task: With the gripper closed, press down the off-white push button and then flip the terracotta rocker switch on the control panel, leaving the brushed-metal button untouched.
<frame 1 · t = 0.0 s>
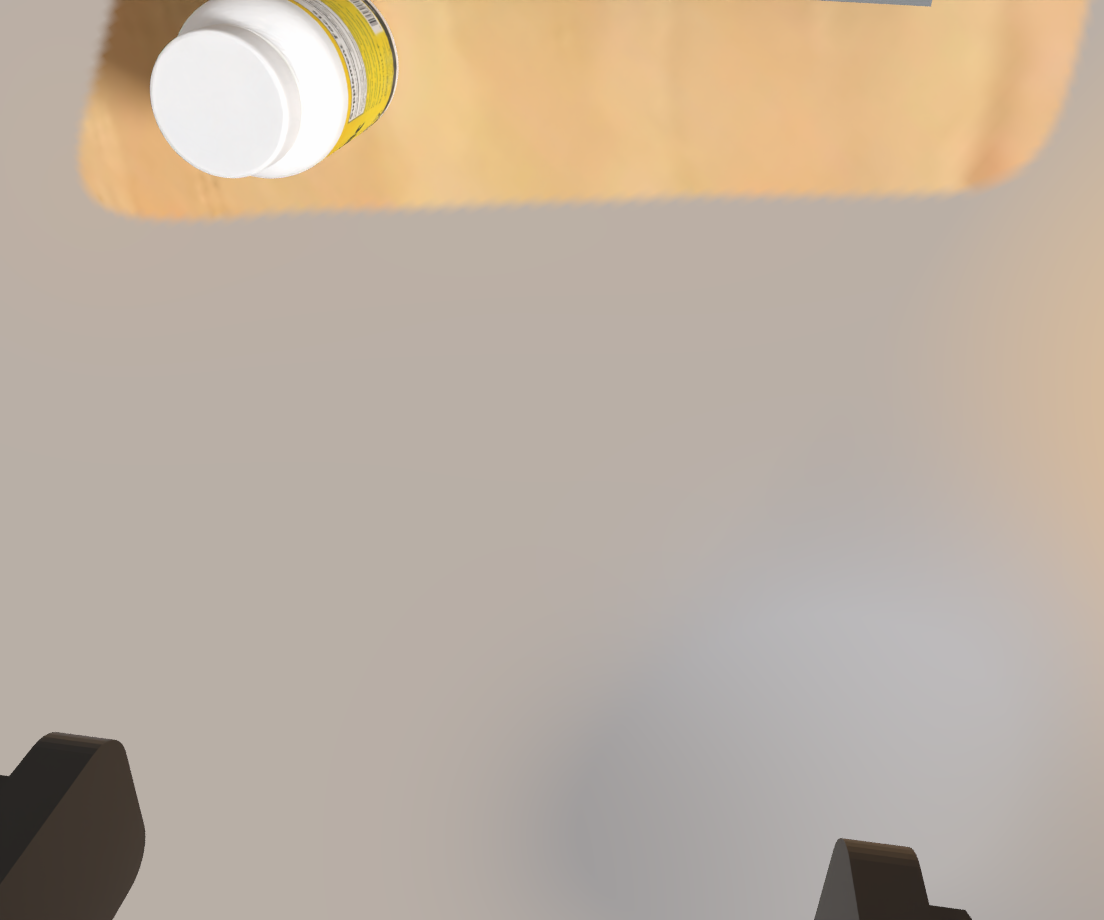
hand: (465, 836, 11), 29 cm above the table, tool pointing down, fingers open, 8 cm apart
supplement bottle: (332, 58, 35), on the table
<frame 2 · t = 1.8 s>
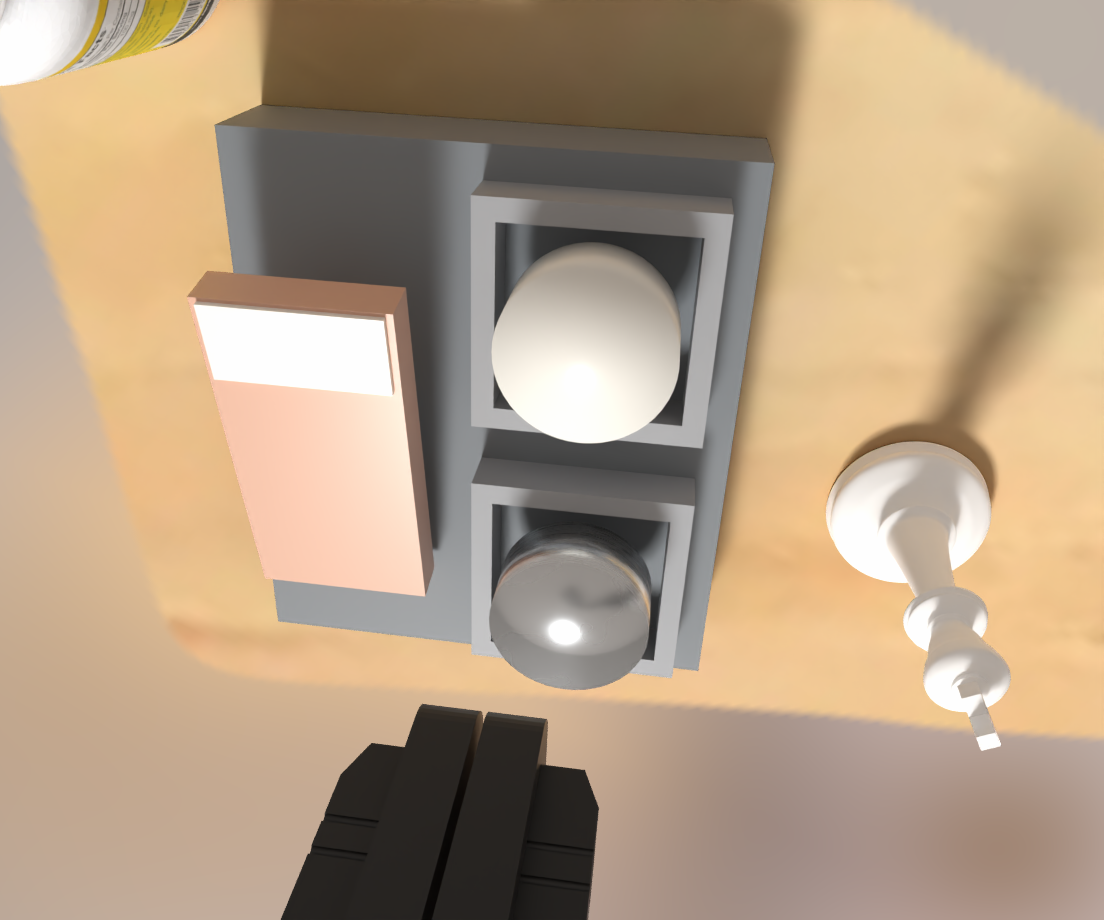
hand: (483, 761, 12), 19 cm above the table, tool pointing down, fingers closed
chess piece: (904, 505, 31), on the table
panel: (503, 386, 30), on the table
metal button: (572, 606, 27), point 5 cm above the table, slide at 0.0 cm
white button: (588, 343, 23), point 5 cm above the table, slide at 0.0 cm
rocker: (326, 451, 26), point 5 cm above the table, hinge at -12.0°
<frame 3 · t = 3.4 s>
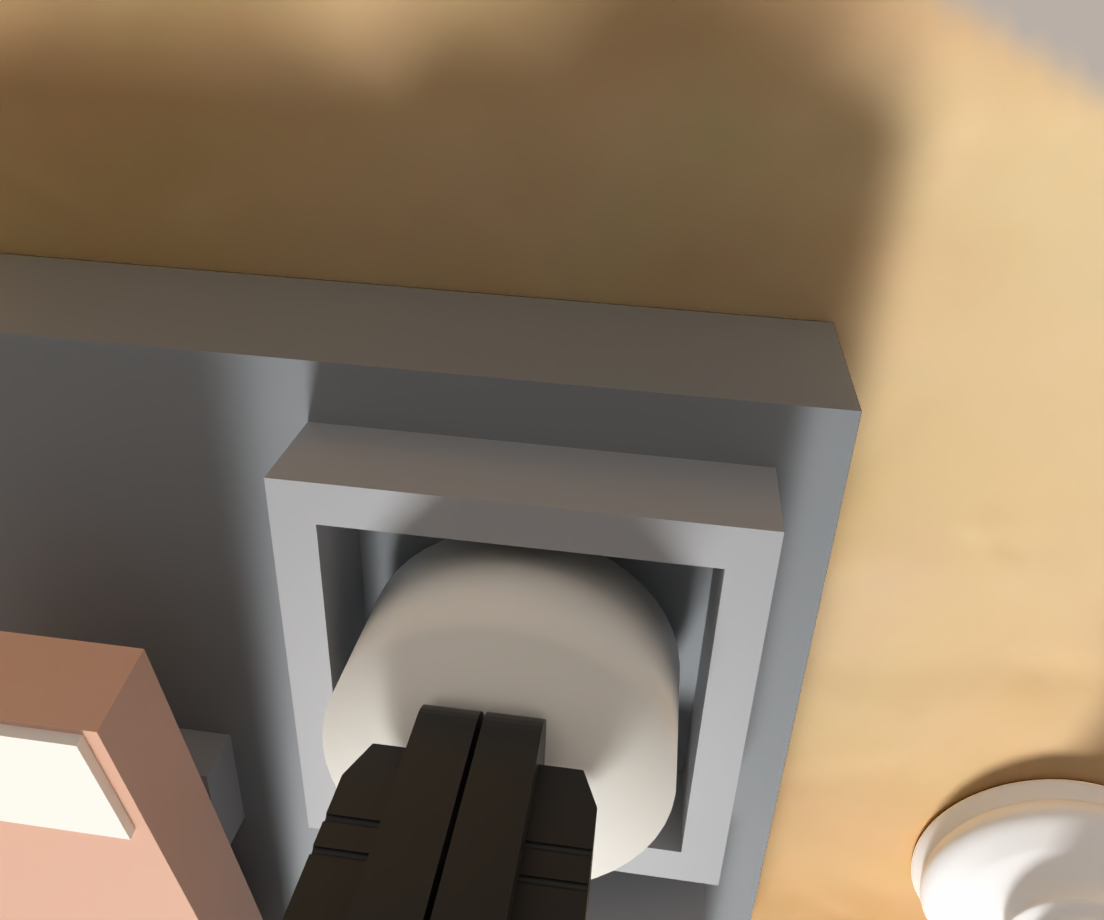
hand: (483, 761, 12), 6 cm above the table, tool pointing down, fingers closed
chess piece: (1037, 857, 19), on the table
panel: (398, 673, 19), on the table
white button: (510, 711, 13), point 5 cm above the table, slide at 0.8 cm, touching gripper
rocker: (59, 863, 15), point 5 cm above the table, hinge at -12.0°
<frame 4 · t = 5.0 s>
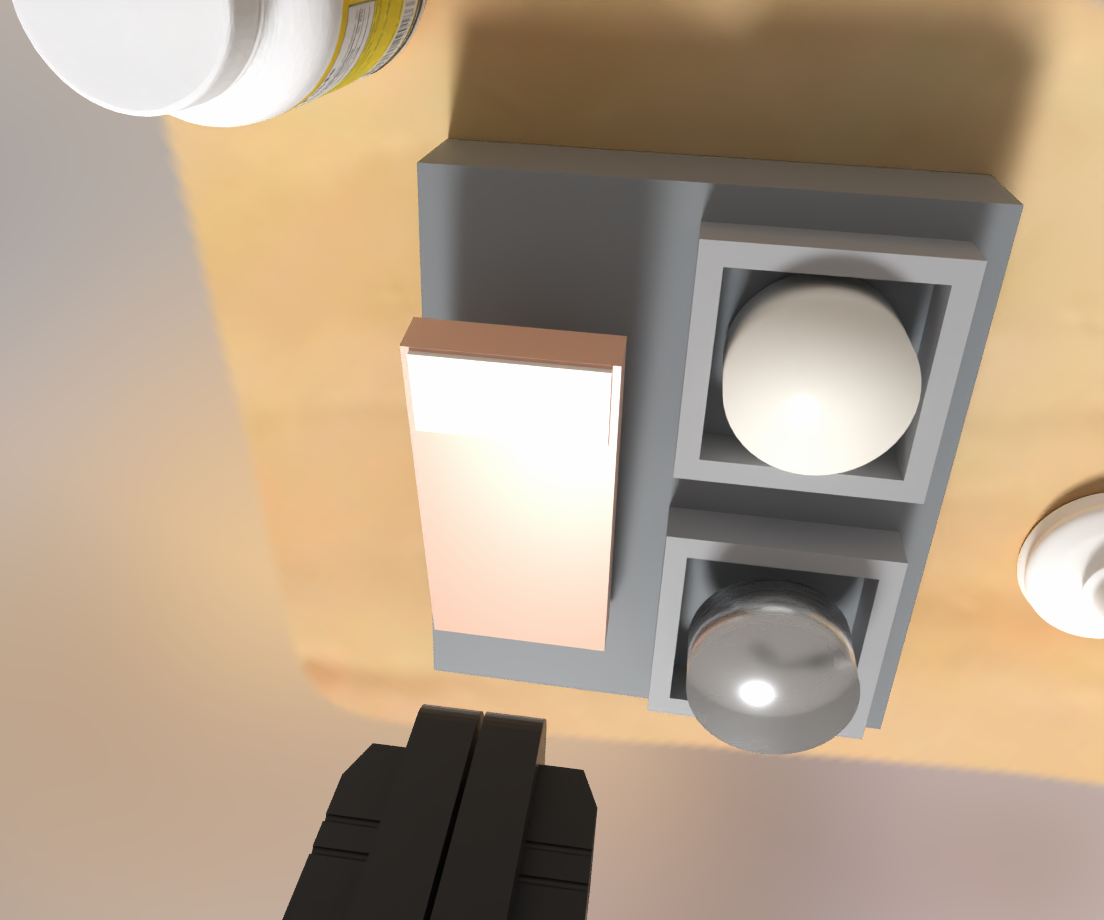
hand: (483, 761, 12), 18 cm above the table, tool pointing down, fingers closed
chess piece: (1102, 557, 29), on the table
panel: (680, 429, 29), on the table
metal button: (770, 666, 26), point 5 cm above the table, slide at 0.0 cm
white button: (816, 374, 23), point 4 cm above the table, slide at 1.2 cm
rocker: (518, 503, 25), point 5 cm above the table, hinge at -12.0°
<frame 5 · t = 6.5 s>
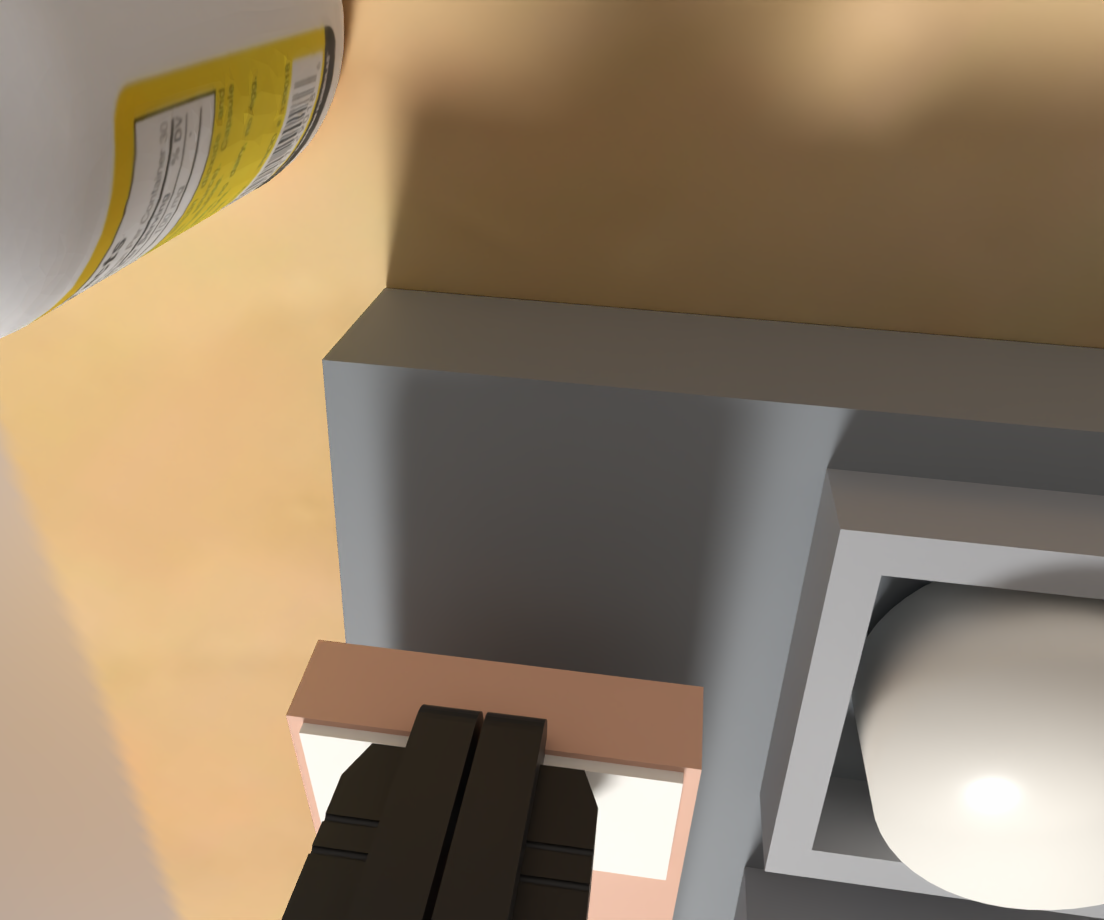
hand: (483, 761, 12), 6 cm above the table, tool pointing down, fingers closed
panel: (750, 707, 19), on the table
white button: (1030, 736, 13), point 4 cm above the table, slide at 1.2 cm
rocker: (503, 906, 15), point 5 cm above the table, hinge at -9.4°, touching gripper
supplement bottle: (180, 7, 14), on the table
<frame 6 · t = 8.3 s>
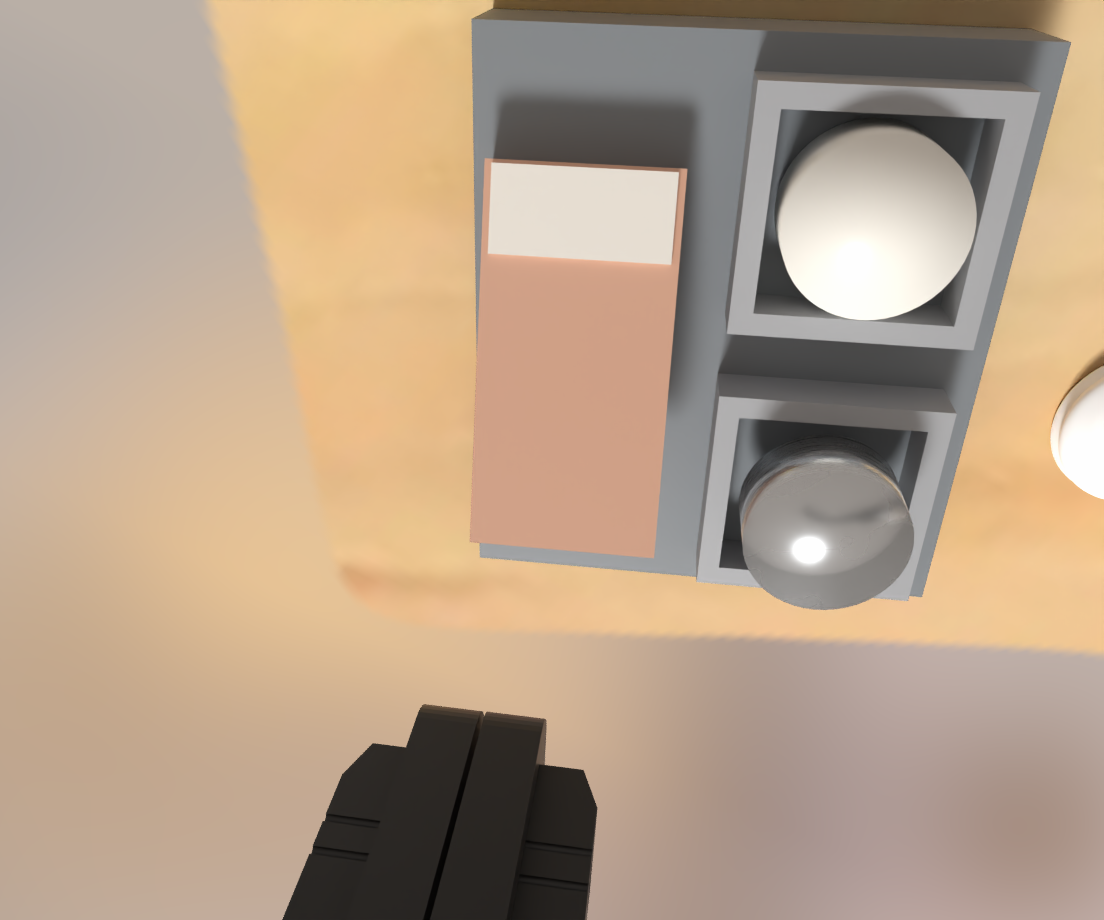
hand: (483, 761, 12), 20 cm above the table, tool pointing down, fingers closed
panel: (721, 305, 29), on the table
metal button: (822, 522, 26), point 5 cm above the table, slide at 0.0 cm
white button: (869, 219, 23), point 4 cm above the table, slide at 1.2 cm
rocker: (574, 363, 25), point 5 cm above the table, hinge at 16.3°
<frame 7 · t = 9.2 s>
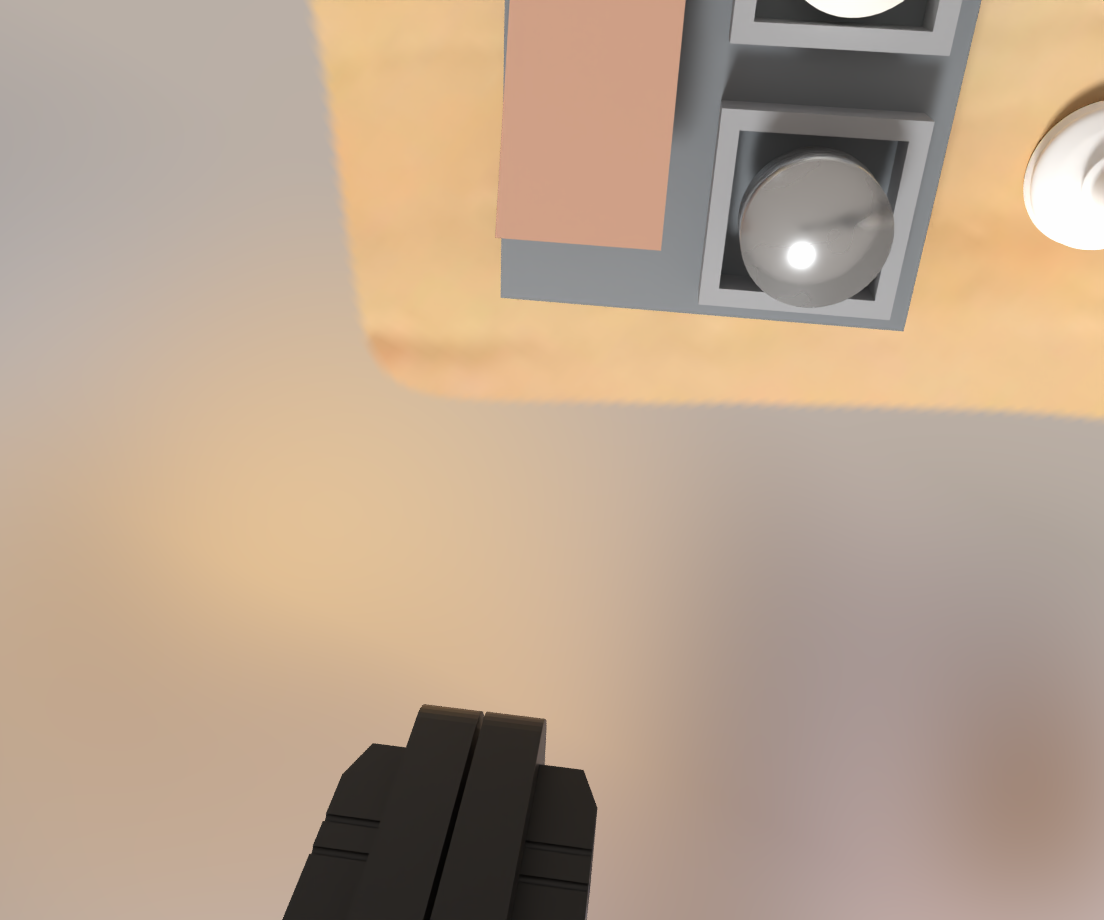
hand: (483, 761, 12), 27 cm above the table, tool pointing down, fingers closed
chess piece: (1098, 173, 33), on the table
panel: (725, 57, 32), on the table
metal button: (812, 227, 29), point 5 cm above the table, slide at 0.0 cm
rocker: (592, 70, 28), point 5 cm above the table, hinge at 16.8°, touching panel
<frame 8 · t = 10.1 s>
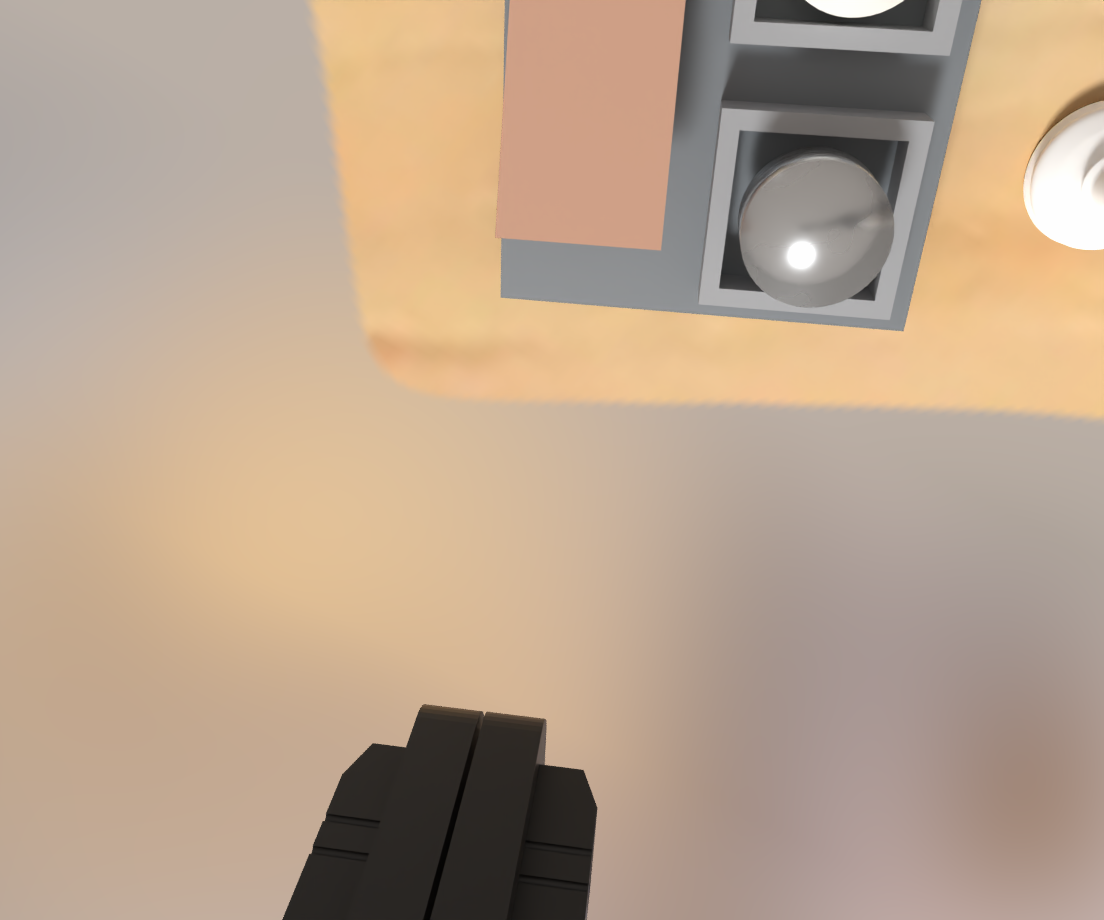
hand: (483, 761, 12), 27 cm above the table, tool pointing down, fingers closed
chess piece: (1098, 173, 33), on the table
panel: (725, 57, 32), on the table
metal button: (812, 227, 29), point 5 cm above the table, slide at 0.0 cm
rocker: (592, 70, 28), point 5 cm above the table, hinge at 16.9°, touching panel
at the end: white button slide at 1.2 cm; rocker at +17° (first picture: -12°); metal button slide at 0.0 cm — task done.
